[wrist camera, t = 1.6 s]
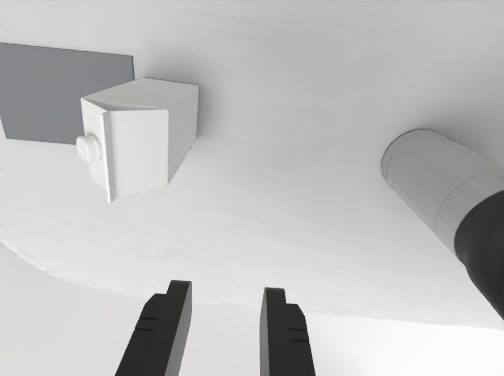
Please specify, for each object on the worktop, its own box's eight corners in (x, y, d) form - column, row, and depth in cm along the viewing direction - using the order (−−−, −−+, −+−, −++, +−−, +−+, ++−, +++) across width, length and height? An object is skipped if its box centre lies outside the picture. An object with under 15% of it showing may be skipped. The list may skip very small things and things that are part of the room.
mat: (132, 56, 36) (131, 56, 36) (139, 149, 41) (139, 150, 41) (-20, 41, 36) (-22, 40, 35) (8, 137, 41) (6, 138, 41)
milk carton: (199, 85, 38) (153, 121, 21) (196, 138, 41) (154, 209, 24) (142, 76, 37) (48, 107, 20) (144, 131, 40) (63, 198, 23)
